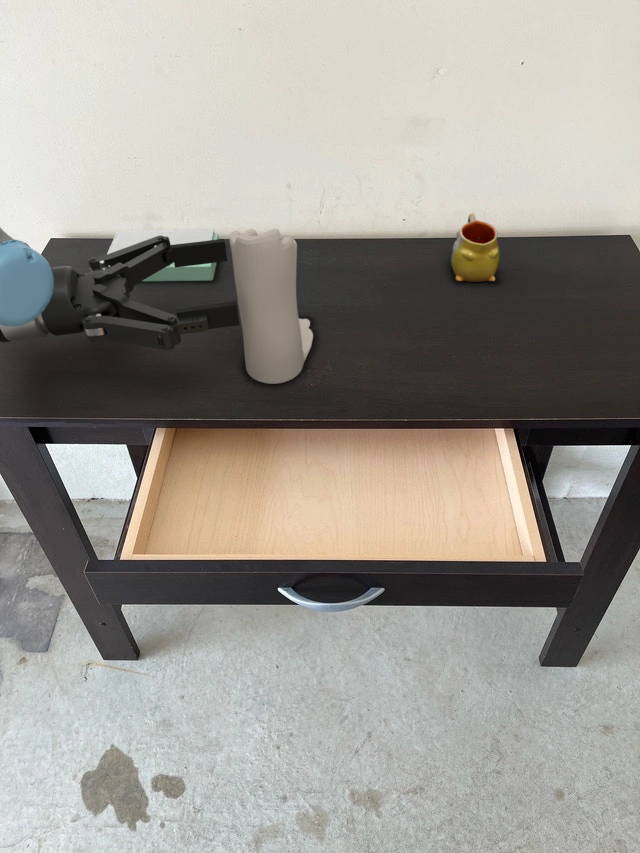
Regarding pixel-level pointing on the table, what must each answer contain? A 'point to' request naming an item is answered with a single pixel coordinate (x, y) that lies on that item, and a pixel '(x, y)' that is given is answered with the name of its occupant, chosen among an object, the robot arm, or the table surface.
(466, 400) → the table surface
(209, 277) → the scale
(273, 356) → the candle
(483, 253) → the mug
